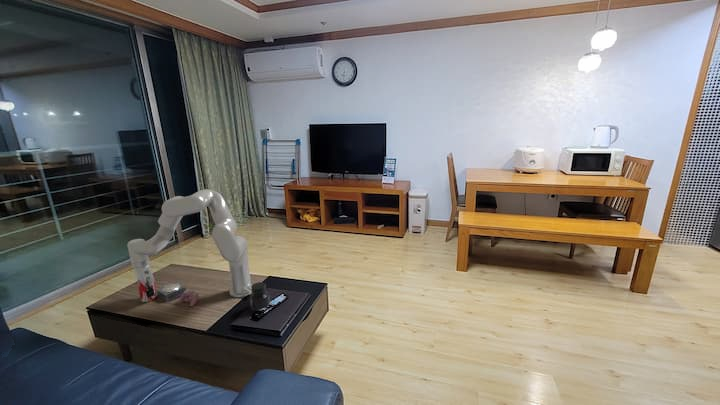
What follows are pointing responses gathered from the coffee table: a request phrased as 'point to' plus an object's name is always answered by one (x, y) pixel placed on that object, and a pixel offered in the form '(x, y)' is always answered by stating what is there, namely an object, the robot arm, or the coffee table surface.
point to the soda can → (143, 292)
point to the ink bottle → (259, 296)
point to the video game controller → (187, 295)
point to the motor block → (171, 291)
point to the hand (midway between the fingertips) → (147, 293)
